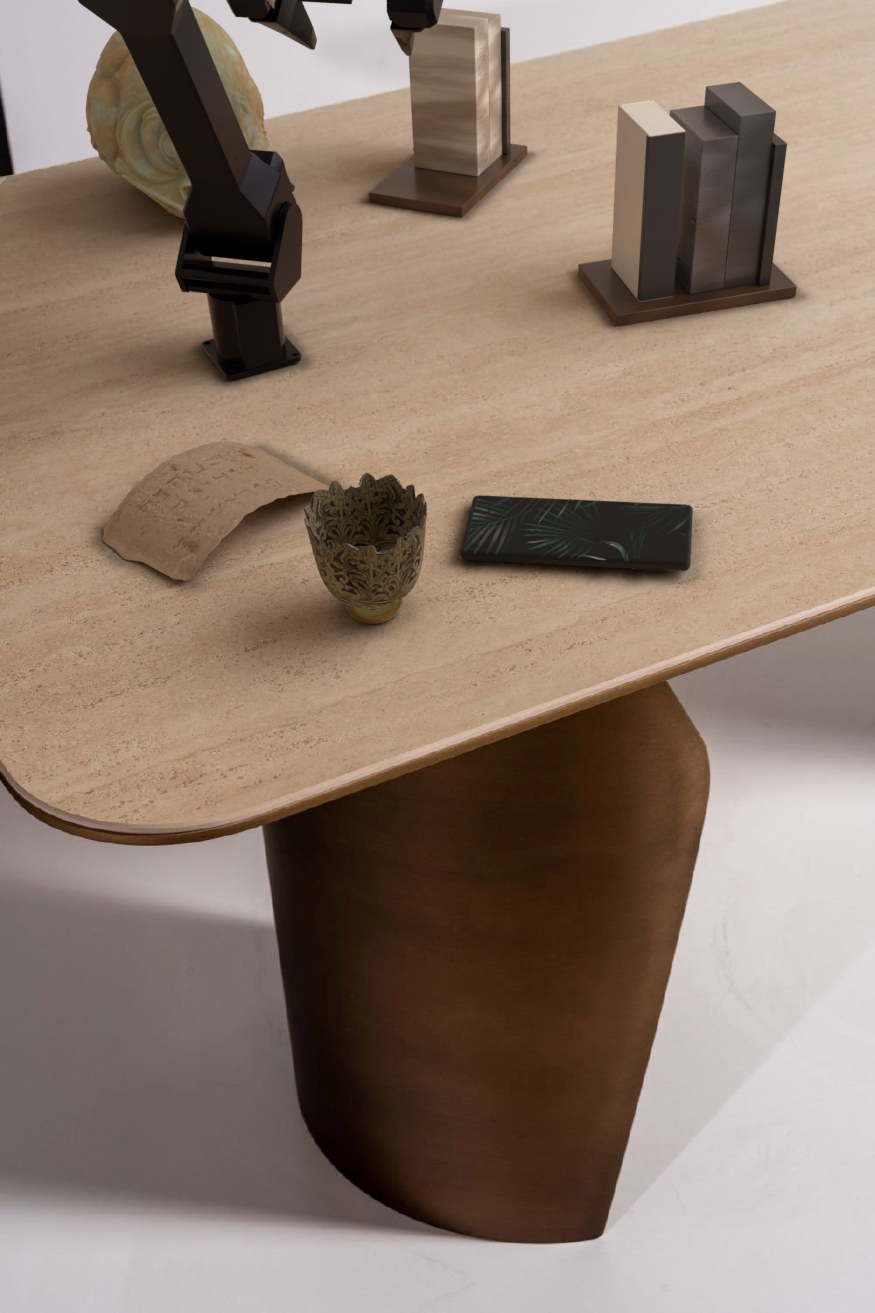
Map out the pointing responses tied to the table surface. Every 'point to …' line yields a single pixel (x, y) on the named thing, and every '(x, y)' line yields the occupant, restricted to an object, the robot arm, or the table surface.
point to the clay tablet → (198, 504)
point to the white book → (647, 199)
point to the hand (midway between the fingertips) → (361, 48)
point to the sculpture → (134, 126)
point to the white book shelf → (456, 116)
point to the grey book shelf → (716, 214)
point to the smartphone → (579, 533)
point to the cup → (368, 543)
